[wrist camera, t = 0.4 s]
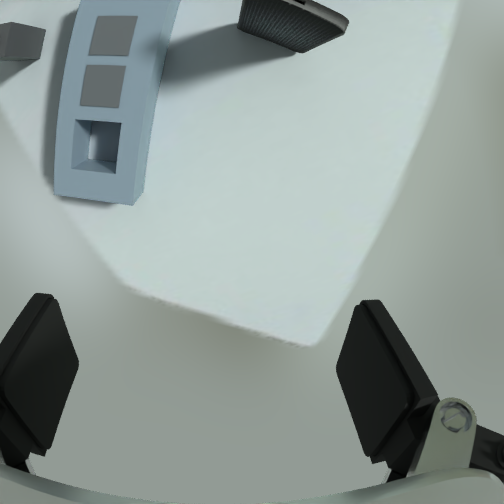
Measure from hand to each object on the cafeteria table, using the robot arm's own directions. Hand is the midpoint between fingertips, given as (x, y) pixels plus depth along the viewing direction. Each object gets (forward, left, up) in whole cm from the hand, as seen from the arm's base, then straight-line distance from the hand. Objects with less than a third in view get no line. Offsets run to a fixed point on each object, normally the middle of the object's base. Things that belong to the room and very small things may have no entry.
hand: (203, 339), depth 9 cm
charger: (-12, -27, -30) cm, 42 cm away
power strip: (-6, -13, -30) cm, 33 cm away
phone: (-15, +3, -30) cm, 34 cm away
